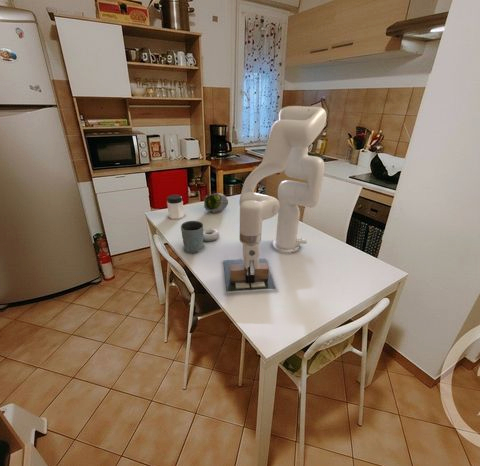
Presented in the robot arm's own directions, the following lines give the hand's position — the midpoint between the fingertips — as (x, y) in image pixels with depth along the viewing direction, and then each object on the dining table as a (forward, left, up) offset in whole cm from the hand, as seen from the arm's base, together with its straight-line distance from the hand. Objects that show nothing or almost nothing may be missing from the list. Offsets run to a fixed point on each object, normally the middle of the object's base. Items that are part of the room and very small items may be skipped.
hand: (249, 278), depth 99 cm
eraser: (0, 0, -1) cm, 1 cm away
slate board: (0, -4, -2) cm, 5 cm away
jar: (+34, -65, -2) cm, 74 cm away
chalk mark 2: (-3, +3, -1) cm, 4 cm away
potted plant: (+11, -70, -2) cm, 71 cm away
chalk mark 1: (+3, +3, -1) cm, 4 cm away
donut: (+15, -37, -2) cm, 40 cm away
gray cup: (+22, -27, -2) cm, 35 cm away
